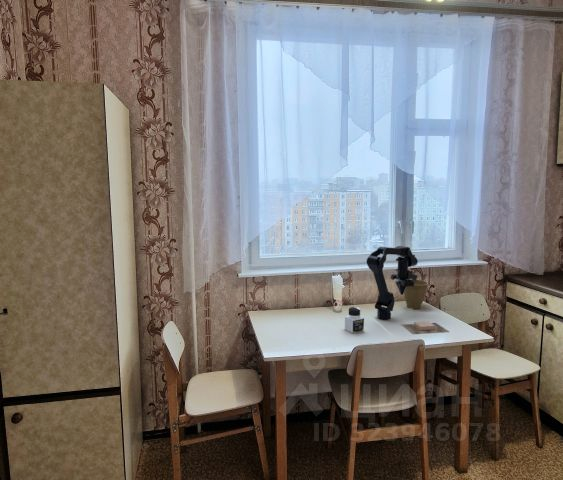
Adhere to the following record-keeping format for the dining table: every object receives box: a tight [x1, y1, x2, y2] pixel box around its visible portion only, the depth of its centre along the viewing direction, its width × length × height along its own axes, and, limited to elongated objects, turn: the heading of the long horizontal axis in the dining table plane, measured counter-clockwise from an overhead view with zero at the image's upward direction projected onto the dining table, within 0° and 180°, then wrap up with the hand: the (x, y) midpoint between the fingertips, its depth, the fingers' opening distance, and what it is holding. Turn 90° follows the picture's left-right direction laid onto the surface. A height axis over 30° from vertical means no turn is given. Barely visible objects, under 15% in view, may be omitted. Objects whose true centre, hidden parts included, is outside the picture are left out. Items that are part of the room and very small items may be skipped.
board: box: [401, 322, 450, 335], centre depth 211 cm, size 20×14×1 cm
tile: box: [413, 320, 435, 330], centre depth 211 cm, size 8×2×7 cm
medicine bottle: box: [344, 306, 365, 334], centre depth 211 cm, size 7×7×12 cm
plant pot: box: [403, 279, 429, 310], centre depth 249 cm, size 15×15×16 cm
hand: (401, 294), depth 234 cm, fingers closed
